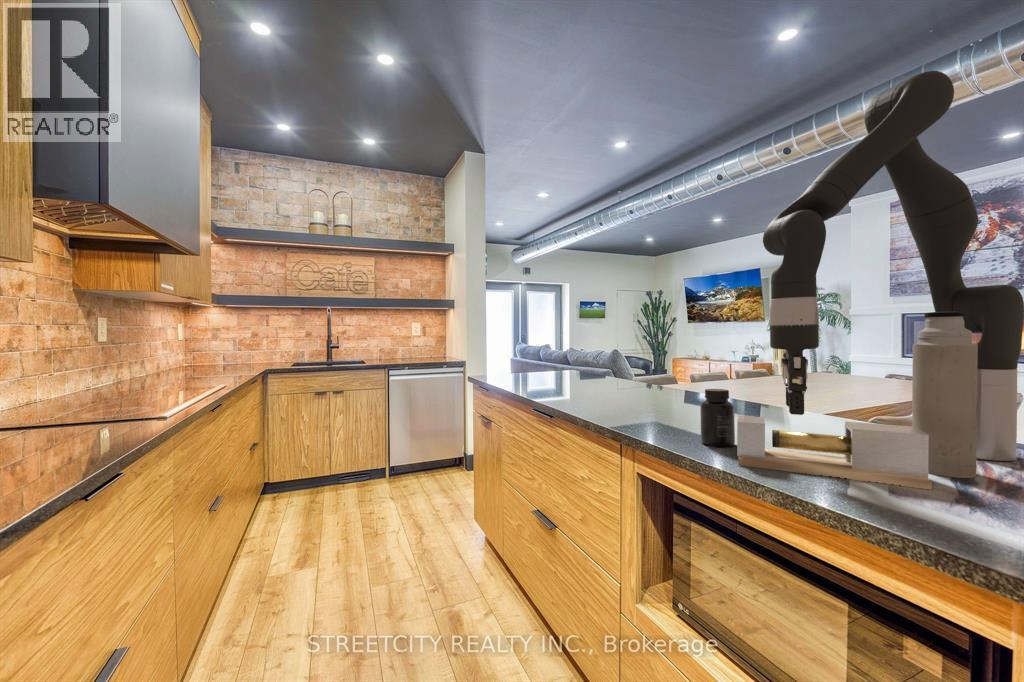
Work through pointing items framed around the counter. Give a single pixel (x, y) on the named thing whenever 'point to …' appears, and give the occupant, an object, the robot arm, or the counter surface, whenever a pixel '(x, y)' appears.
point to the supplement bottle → (717, 419)
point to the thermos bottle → (946, 393)
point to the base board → (827, 468)
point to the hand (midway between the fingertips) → (794, 410)
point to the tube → (811, 442)
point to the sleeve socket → (856, 446)
